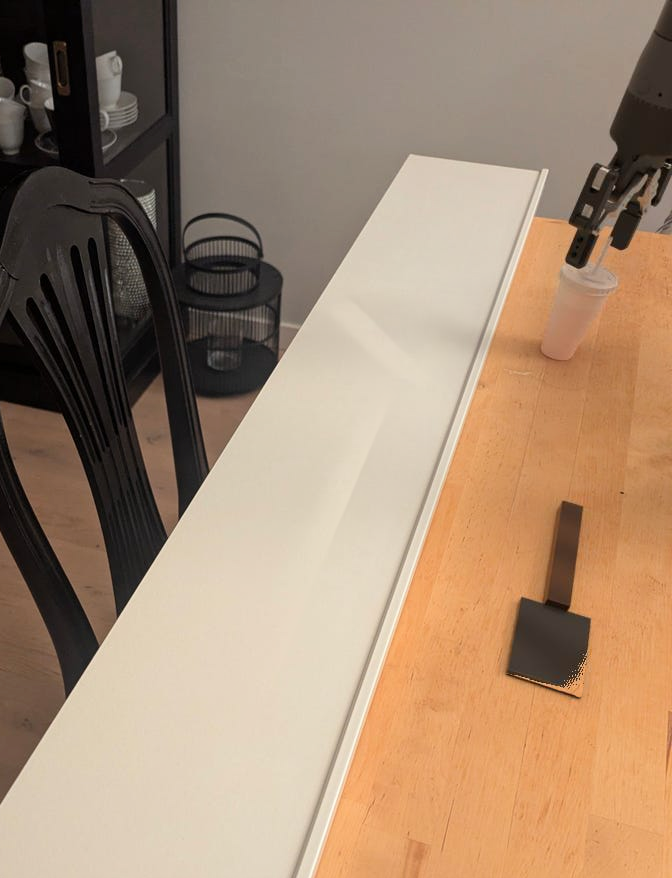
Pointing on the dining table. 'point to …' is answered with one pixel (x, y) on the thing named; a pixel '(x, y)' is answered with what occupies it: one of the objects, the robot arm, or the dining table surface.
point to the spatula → (553, 614)
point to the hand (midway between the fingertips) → (595, 256)
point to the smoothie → (577, 305)
